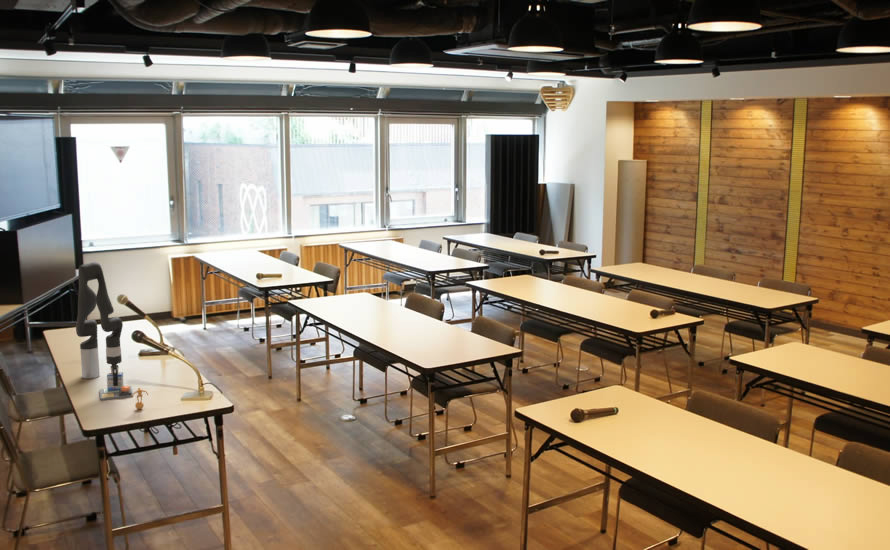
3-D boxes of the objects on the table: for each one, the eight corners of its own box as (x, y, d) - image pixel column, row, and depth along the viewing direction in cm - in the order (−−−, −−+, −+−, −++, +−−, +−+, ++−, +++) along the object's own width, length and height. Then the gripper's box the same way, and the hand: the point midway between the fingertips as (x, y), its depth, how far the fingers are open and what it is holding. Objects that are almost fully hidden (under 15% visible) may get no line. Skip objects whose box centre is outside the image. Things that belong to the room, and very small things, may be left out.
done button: (120, 389, 418) (120, 386, 418) (129, 388, 420) (129, 385, 420) (121, 391, 414) (121, 388, 414) (130, 390, 416) (129, 387, 416)
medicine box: (107, 390, 420) (106, 375, 418) (108, 387, 424) (107, 372, 423) (123, 389, 422) (122, 374, 421) (123, 386, 427) (123, 371, 425)
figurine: (147, 406, 401) (146, 384, 399) (150, 410, 396) (148, 387, 394) (130, 409, 396) (129, 386, 394) (132, 413, 391) (131, 390, 389)
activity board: (99, 390, 424) (99, 387, 424) (131, 387, 431) (131, 384, 430) (100, 400, 409) (100, 396, 409) (133, 396, 416) (132, 393, 415)
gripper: (105, 351, 425) (107, 381, 428) (106, 358, 412) (108, 389, 415) (120, 350, 428) (122, 379, 431) (121, 356, 415) (123, 387, 418)
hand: (115, 384), depth 423 cm, fingers open, 5 cm apart
